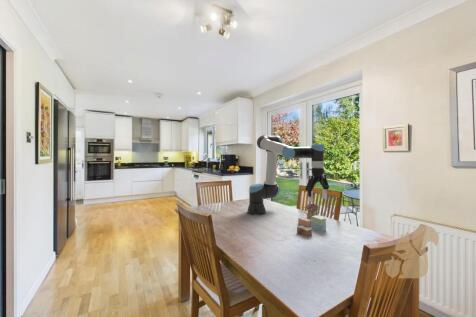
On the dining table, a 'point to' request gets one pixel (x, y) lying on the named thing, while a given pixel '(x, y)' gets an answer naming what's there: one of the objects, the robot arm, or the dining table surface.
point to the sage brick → (319, 220)
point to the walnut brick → (304, 231)
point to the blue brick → (318, 227)
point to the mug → (311, 210)
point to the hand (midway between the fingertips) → (317, 200)
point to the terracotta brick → (304, 221)
